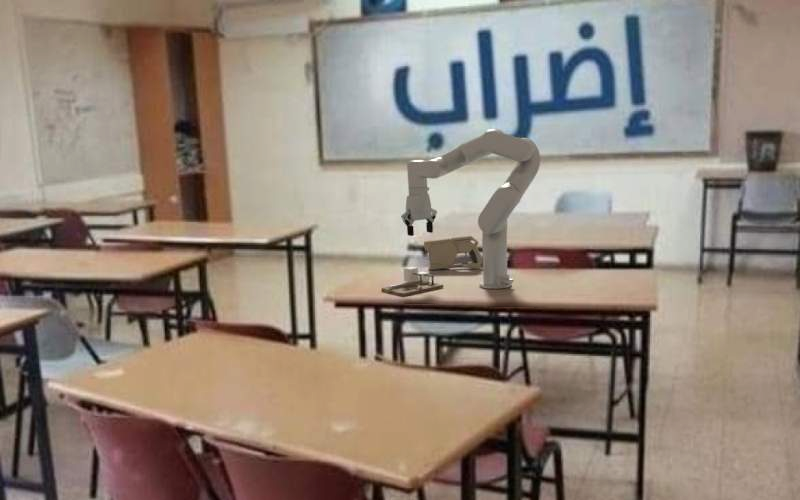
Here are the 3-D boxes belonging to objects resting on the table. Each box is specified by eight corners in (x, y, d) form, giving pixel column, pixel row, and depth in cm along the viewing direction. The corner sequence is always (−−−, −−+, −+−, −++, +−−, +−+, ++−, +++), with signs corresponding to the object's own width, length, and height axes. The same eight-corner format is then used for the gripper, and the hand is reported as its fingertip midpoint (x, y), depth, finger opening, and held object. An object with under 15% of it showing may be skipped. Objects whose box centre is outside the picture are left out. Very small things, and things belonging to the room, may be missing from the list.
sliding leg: (425, 284, 314) (425, 269, 313) (417, 286, 312) (417, 270, 311) (412, 281, 321) (411, 266, 320) (404, 283, 318) (403, 268, 317)
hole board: (443, 287, 315) (443, 284, 315) (403, 296, 303) (403, 293, 303) (420, 282, 326) (420, 279, 326) (381, 291, 314) (381, 287, 314)
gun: (483, 267, 352) (479, 234, 349) (483, 269, 349) (479, 235, 346) (428, 273, 355) (424, 240, 352) (428, 275, 351) (423, 241, 349)
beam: (436, 283, 318) (436, 274, 317) (399, 291, 306) (399, 282, 306) (423, 280, 324) (423, 271, 324) (386, 288, 313) (386, 279, 312)
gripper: (429, 188, 324) (431, 230, 327) (394, 193, 314) (397, 236, 317) (440, 189, 318) (443, 231, 321) (406, 194, 308) (408, 237, 311)
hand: (420, 233), depth 319 cm, fingers open, 9 cm apart
